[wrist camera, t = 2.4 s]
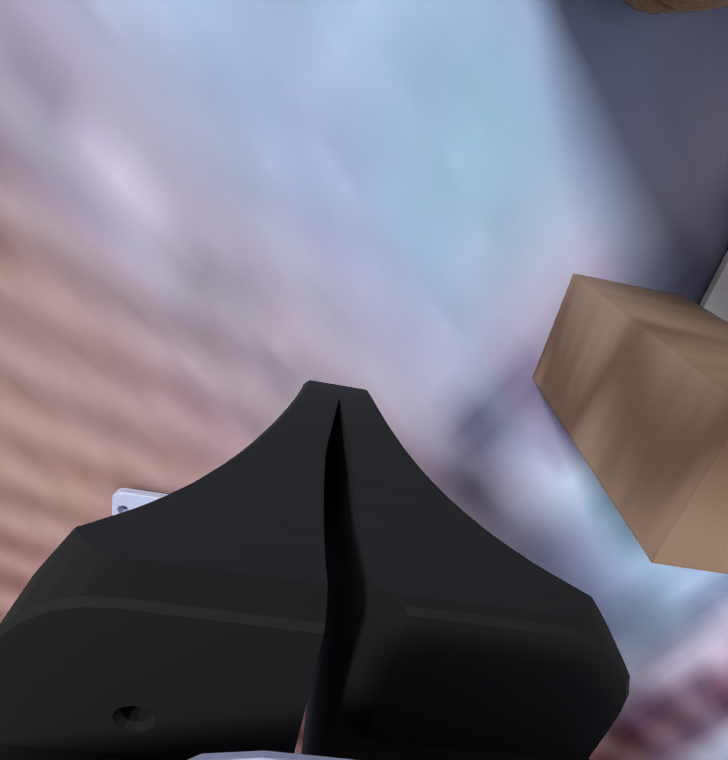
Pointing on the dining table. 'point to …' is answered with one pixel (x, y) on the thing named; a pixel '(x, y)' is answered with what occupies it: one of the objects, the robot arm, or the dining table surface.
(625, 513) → the walnut pillar
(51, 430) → the dining table surface
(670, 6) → the block
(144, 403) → the dining table surface
